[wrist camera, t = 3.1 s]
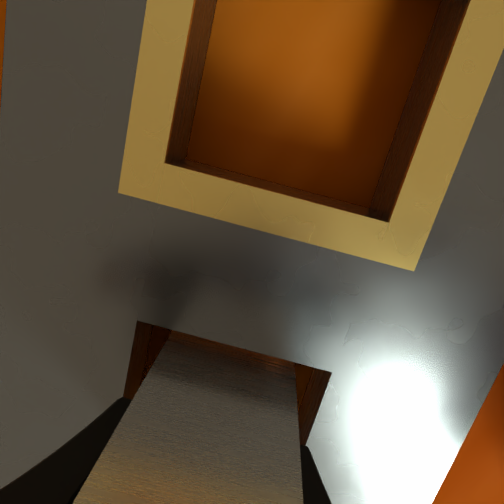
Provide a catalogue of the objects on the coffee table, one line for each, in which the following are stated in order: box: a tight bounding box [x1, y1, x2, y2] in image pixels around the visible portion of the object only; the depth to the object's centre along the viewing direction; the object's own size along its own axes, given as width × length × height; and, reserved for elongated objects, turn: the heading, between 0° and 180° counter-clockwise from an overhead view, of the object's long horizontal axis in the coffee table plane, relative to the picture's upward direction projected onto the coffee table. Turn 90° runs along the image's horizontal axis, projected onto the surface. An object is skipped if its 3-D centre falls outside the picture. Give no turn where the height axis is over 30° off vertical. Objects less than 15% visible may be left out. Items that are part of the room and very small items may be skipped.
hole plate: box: [0, 0, 504, 504], centre depth 11 cm, size 14×20×2 cm
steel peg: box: [73, 330, 303, 504], centre depth 10 cm, size 4×4×8 cm
